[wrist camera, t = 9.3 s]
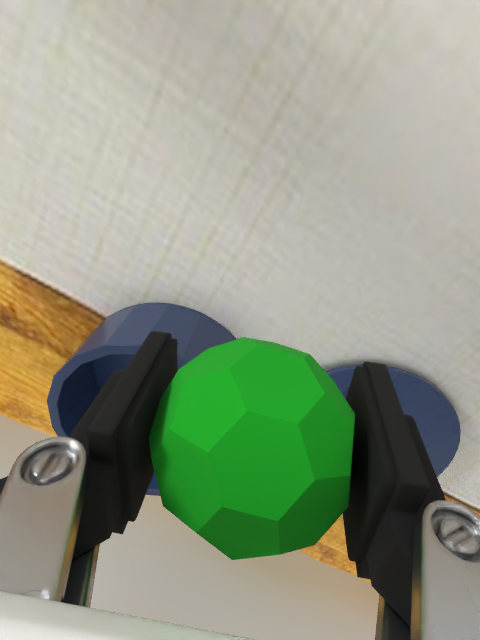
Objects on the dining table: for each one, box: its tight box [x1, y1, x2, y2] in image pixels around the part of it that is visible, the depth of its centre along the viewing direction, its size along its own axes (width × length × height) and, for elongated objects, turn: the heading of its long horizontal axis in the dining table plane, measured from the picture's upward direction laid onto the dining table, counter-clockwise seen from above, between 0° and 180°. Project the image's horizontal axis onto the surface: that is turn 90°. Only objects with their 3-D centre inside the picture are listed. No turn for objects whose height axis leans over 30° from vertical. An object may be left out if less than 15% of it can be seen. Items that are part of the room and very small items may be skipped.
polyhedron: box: [149, 338, 355, 560], centre depth 9 cm, size 5×5×5 cm
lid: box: [325, 365, 460, 476], centre depth 32 cm, size 17×17×6 cm
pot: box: [47, 303, 236, 496], centre depth 32 cm, size 16×16×6 cm
